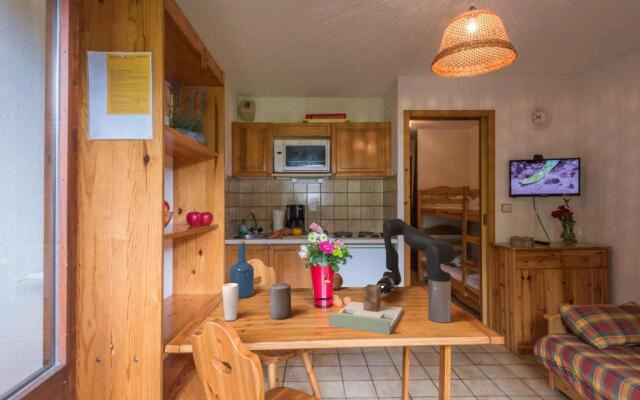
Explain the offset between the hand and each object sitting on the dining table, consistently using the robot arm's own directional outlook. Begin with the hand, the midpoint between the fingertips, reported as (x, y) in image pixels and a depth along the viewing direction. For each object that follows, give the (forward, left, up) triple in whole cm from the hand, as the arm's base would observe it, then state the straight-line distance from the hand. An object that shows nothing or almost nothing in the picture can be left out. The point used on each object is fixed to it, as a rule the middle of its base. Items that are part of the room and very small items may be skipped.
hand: (377, 292), depth 166 cm
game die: (+31, -1, -7) cm, 32 cm away
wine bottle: (+73, +9, -7) cm, 74 cm away
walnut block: (0, +10, -5) cm, 11 cm away
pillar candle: (+37, +30, -7) cm, 48 cm away
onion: (+31, -23, -7) cm, 39 cm away
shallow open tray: (0, +17, -7) cm, 19 cm away
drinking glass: (+55, +42, -7) cm, 70 cm away
